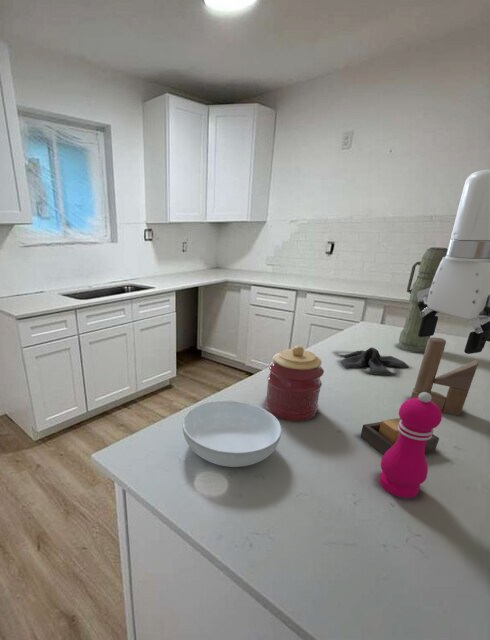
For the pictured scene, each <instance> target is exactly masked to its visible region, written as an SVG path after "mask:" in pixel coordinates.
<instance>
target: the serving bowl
mask: <svg viewBox="0 0 490 640" xmlns="http://www.w3.org/2000/svg"><path fill="white" fill-rule="evenodd" d="M181 427H182V435H183V437H184V439H185V441H186V443H187V445H188V447H189V448H190V449H191V450H192V451H193V452H194V453H195V454H196V455H197V456H199V458H201V459H203V460H205V461H207V462H209V463H211V464H214V465H218V466H222V467H229V468H238V467H239V468H241V467H247V466H252V465H255V464H258V463H260V462H262V461H264V460H266V458H268V457H269V456H271V454H273V452H274V451H275V450H276V448H277V446H278V444H279V443H280V440H281V437H282V433H283V431H282V430H283V429H282V425H281V423H280V421H279V420H278V417H276V416H274V415H272V414H271V413H270V412H269V411H268V410H267V409H265V408H263V407H260V406H258V405H256V404H252V403H249V402H244V401H239V400H213V401H207V402H203V403H201V404H200V403H199V404H198V405H195V406H194V407H192V408H190V409H189V410H188V411H187V412H186V413H185V414H184V416H183V417H182V421H181Z"/></svg>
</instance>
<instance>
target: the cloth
mask: <svg viewBox="0 0 490 640" xmlns="http://www.w3.org/2000/svg"><path fill="white" fill-rule="evenodd" d="M339 357H340V358H343V359H341V360H340V363H341V364H342V366H343V368H344V369H345V370H349V369H357V368H359V369H360V368H363V370H364V371H363V372H364V373H365V374H366V375H377V376H378V375H379V376H389V377H390V376H391V377H396V376H397V372H392V371H390V370H388V369H387V368H396V367H397V368H402V369H406V368H409V365H408V364H407V363H406V362H405V361H404V360H401V359H399V358H398V357H394V356H392V355H385V356H381V354H380V352H379V350H378V349H376V347H375V348H374V347H369V348H368V349H366V350H363V349H362V350H356V351H352V352H350V353H345V354H339ZM368 368H370V370H367V369H368ZM365 370H366V371H365Z"/></svg>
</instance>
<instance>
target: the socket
mask: <svg viewBox="0 0 490 640" xmlns="http://www.w3.org/2000/svg"><path fill="white" fill-rule="evenodd" d="M380 425H381V421H377V422H372V423H371V422H370V423H364V424H362V428H361V433H360V438H361V440H362V441H365V442H366V444H368V445H369V446H371V447H372V448H373V449H375V450H376V451H377V452H378V453H379V454H381V455H382V456H384V454H385V453H386V452H387V451H388V450H389V449H390V448H391V447H392V446H393V445H394V444H395V443H392V442H391V441H389V440H388V439H387V438H385V437H384V436H383V435H381V434H380V433H379V429H380ZM439 441H440V437H439V436H437V435H435V434H434V433H433V434H432V438H431V439H429V440H427V442H426V445H425V454H426V453H427V454H429V453H433V452H435V451H436V450H437V447H438V444H439Z"/></svg>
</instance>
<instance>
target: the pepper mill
mask: <svg viewBox="0 0 490 640" xmlns="http://www.w3.org/2000/svg"><path fill="white" fill-rule="evenodd" d="M431 398H432V397H431V395H430V394H429V393H427V392H422V393H420V394H419V397H418V398H412V399H410V398H409V399H406V400H404V401H403V402H402V403H401V405H400V407H399V409H398V416H399V417H398V418H401V421H400V422H399V426H398V430H399V437H398V439H397V441H396V442H395V444H394V445H393V446H392V447H391V448H390V449H389V450H388V451H387V452H386V453H385V454H384V455H382V458H381V460H380V469H381V472H380V474H379V478H378V483H379V485H380V487H381V488H382V489H384V491H386V492H387V493H389V494H391V495H394V496H395V497H396V496H397V497H400V498H403V499H411V498H415V497H417V496H418V493H419V491H420V487H421V484H423V483H424V482H425V481H426V480H427V478H428V472H429V469H428V468H429V467H428V462H427V457H426V455H425V454H426V453H425V445H426V442H427V440H429V439H431V438H432V434H433V435H434V432H435V431H434V429H435V428H437V427H438V426H439V425H440V424H441V422H442V417H443V414H442V413H443V412H442V411H441V410H440V408H439V407H438V406H437V405H436V404H435V403H433V402H432V401H430V400H431Z"/></svg>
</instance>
